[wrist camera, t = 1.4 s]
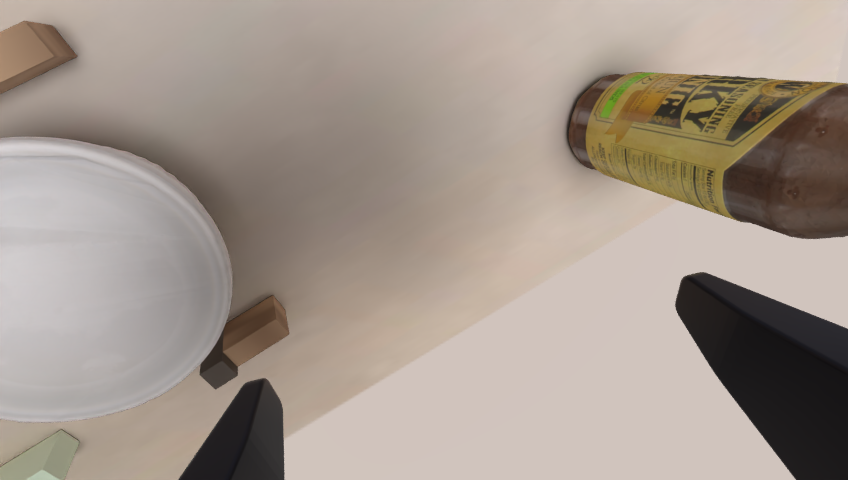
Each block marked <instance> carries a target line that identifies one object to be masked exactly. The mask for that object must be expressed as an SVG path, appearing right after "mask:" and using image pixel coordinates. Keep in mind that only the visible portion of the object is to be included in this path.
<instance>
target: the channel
mask: <svg viewBox="0 0 848 480" xmlns="http://www.w3.org/2000/svg"><path fill="white" fill-rule="evenodd" d="M75 57H77V55H76V54H75V53H74V52H73V50H72V49H71V48H70V47H69V45H68V44H67V43H66V42H65V41H64V39H63V38H62V37H61V36H60V34H59V33H58V32H57V31H56V30H55V28H54V27H53V26H52V25H46V24H40V23H34V22H28V21H23V22H21V23H19V24H17V25H14V26H12V27H10V28H8V29H6V30H4V31H2V32H0V94H1V93H3V92H6V91H8V90H10V89H12V88H14V87H16V86H18V85H20V84H22V83H24V82H26V81H28V80H30V79H32V78H34V77H36V76H38V75H40V74H43V73H45V72H47V71H49V70H51V69H53V68H55V67H57V66H59V65H61V64H63V63H65V62H67V61H69V60H71V59H73V58H75ZM287 335H289V329H288V324H287V318H286V313H285V309H284V308H283V307H282V306H281V305H280V303H279V302H278V301H277V300H276V298H275V297H274V296H273V295H272V296H271V297H269V298H267V299H266V300H264V301H262V302H261V303H259V304H258V305H256V306H254V307H253V308H251V309H249V310H248V311H246V312H244V313H243V314H241V315H240V316H238V317H236V318H235V319H233V320H231V321H230V322H228V323H226V324H225V326H224V329H223V331H222V333H221V335H220V337H219V339H218V341H217V343H216V344H215V346H214V347H213V349H212V350H211V352H210V353H209V355H208V356H207V357H206V358H205V360H204V361H203V362H202V363H201V367H200V376H202V377H203V378H204V379H205V380H206V381H207V382H208V383H209V384H210V385H211V386H212V387H213V388H215V389H217V388H219V387H220V386H222V385H224V384H225V383H227V382H228V381H230V380H231V379H233V378H235V377H236V376H238V366H240V365H241V364H243V363H245V362H246V361H248V360H249V359H251V358H252V357H254V356H256V355H257V354H259V353H260V352H262V351H264V350H265V349H267V348H268V347H270V346H272V345H273V344H275V343H276V342H278V341H279V340H281V339H283V338H284V337H286V336H287Z"/></svg>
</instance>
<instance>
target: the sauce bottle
mask: <svg viewBox="0 0 848 480" xmlns="http://www.w3.org/2000/svg"><path fill="white" fill-rule="evenodd" d="M569 143H570V145H571V148H572V150H573V152H574V154H575V155H576V157H577V158H578V160H579V161H580V162H581V163H582V164H583V165H584V166H586V167H588V168H591V169H595V170H598V171H599V172H601V173H603V174H604V175H607V176H610V177H612V178H615V179H618V180H621V181H624V182H627V183H630V184H633V185H636V186H638V187H641V188H644V189H647V190H650V191H653V192H656V193H659V194H661V195H664V196H667V197H670V198H673V199H676V200H679V201H682V202H685V203H688V204H691V205H694V206H696V207H699V208H702V209H705V210H708V211H711V212H714V213H717V214H720V215H722V216H725V217H728V218H731V219H734V220H737V221H740V222H748V223H752V224H756V225H759V226H762V227H764V228H767V229H770V230H773V231H776V232H779V233H782V234H785V235H788V236H791V237H797V238H803V239H804V238H805V239H820V238H831V237H845V236H848V84H846V83H833V82H808V81H791V80H776V79H767V78H746V77H739V76H737V77H729V76H710V75H687V74H665V73H646V72H635V73H631V74H628V75H620V74H615V75H609V76H606V77H604V78H602V79H600V80H599V81H598V82H597V83H595V84H594V85H593V86H591V87H590V88H589V89H588V90H587V91H586V92H585V93H584V94H582V96H581V97H580V99H579V100H578V102H577V104H576V106H575V110H574V112H573V115H572V119H571V123H570V127H569Z"/></svg>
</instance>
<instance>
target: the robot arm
mask: <svg viewBox="0 0 848 480" xmlns="http://www.w3.org/2000/svg"><path fill="white" fill-rule="evenodd" d="M675 307H676V310H677V313H678V315H679V316H680V318H681V320H682V322H683V323H684V325H685V326H686V328H687V330H688V331H689V333H690V334H691V336H692V338H693V339H694V341H695V343H696V344H697V346H698V347H699V349H700V351H701V352H702V354H703V355H704V357H705V359H706V360H707V362H708V363H709V365H710V367H711V368H712V369H713V371H714V373H715V374H716V375H717V377H718V378H719V380H720V381H721V382H722V384H723V385H724V386H725V388H726V389H727V390H728V392H729V393H730V394H731V396H732V397H733V398H734V400H735V401H736V402H737V403H738V405H739V406H740V407H741V409H742V410H743V411H744V412H745V414H746V415H747V416H748V418H749V419H750V420H751V422H752V423H753V424H754V426H755V427H756V428H757V430H758V431H759V432H760V433H761V435H762V436H763V437H764V439H765V440H766V441H767V442H768V444H769V445H770V446H771V447H772V449H773V450H774V452H775V453H776V454H777V456H778V457H779V458H780V459H781V461H782V462H783V463H784V465H785V466H786V467H787V469H788V470H789V471H790V473H791V474H792V475H793V476H794V478H795V479H796V480H848V329H847V328H844V327H842V326H839V325H837V324H834V323H832V322H829V321H827V320H824V319H821V318H819V317H816V316H814V315H811V314H809V313H807V312H804V311H801V310H799V309H796V308H794V307H791V306H789V305H786V304H784V303H781V302H779V301H776V300H774V299H771V298H768V297H766V296H764V295H761V294H759V293H756V292H753V291H751V290H748V289H746V288H743V287H741V286H738V285H736V284H733V283H731V282H728V281H726V280H723V279H720V278H718V277H716V276H713V275H710V274H708V273H704V272H700V273H695V274H691V275H687V276H685V277H683V279H682V280H681V283H680V287H679V291H678V294H677V298H676V304H675ZM179 480H284V439H283V409H282V404H281V401H280V399H279V397H278V396H277V394H276V392H275V391H274V389H273V387H272V386H271V384H270V382H269V381H268V380H267V379H265V378H262V379H258V380H254V381H250V382H247V383H245V384H244V385H243V386H242V388H241V389H240V391H239V392H238V394H237V395H236V397H235V398H234V399H233V401H232V402H231V404H230V405H229V407H228V408H227V410H226V411H225V413H224V414H223V415H222V417H221V418H220V420H219V421H218V423H217V424H216V426H215V427H214V429H213V430H212V431H211V433H210V434H209V436H208V437H207V439H206V440H205V442H204V443H203V445H202V446H201V448H200V449H199V450H198V452H197V453H196V455H195V456H194V458H193V459H192V461H191V462H190V464H189V465H188V466H187V468H186V469H185V471H184V472H183V474H182V475H181V477H180V478H179Z"/></svg>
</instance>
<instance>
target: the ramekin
mask: <svg viewBox="0 0 848 480" xmlns="http://www.w3.org/2000/svg"><path fill="white" fill-rule="evenodd" d="M231 299H232V269H231V262H230V258H229V254H228V250H227V248H226V245H225V242H224V240H223V238H222V235H221V233H220V231H219V230H218V228H217V226H216V224H215V223H214V221H213V219H212V218H211V216H210V215H209V214H208V212H207V211H206V210H205V208H204V206H203V205H202V204H201V203H200V202H199V201H198V199H197V197H196V196H195V195H194V194H193V193H192V192H191V191H190V190H189V189H188V188H187V186H185V185H184V184H183V183H181V182H180V181H178V180H177V178H176V177H175V176H174V175H172V174H170V173H168V172H166V171H165V170H164V169H163V168H162V167H161V166H159V165H157V164H154V163H152V162H150V161H148V160H147V159H145V158H143V157H139V156H136V155H134V154H132V153H130V152H127V151H121V150H117V149H114V148H112V147H108V146H99V145H96V144H91V143H87V142H82V141H77V140H70V139H62V138H52V137H29V136H24V137H6V138H0V419H4V420H10V421H17V422H29V423H30V422H41V423H52V422H68V421H77V420H86V419H91V418H97V417H102V416H106V415H110V414H114V413H117V412H121V411H124V410H127V409H130V408H134V407H137V406H139V405H141V404H144V403H146V402H148V401H150V400H151V399H153V398H156V397H159V396H160V395H162V394H164V393H166V392H167V391H169V390H170V389H172V388H173V387H175V386H176V385H177V384H179V383H180V382H181V381H182V380H183V379H185V378H186V377H187V376H188V375H189V374H190V373H191V372H192V371H194V370H195V369H196V368H197V367H198V366H199V365H200V364H201V363H202V362H203V361H204V360H205V358H206V357H207V356H208V355H209V353H210V352H211V350H212V349H213V347H214V346H215V344H216V343H217V341H218V339H219V337H220V335H221V333H222V331H223V329H224V326H225V324H226V321H227V318H228V315H229V311H230V305H231Z"/></svg>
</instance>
